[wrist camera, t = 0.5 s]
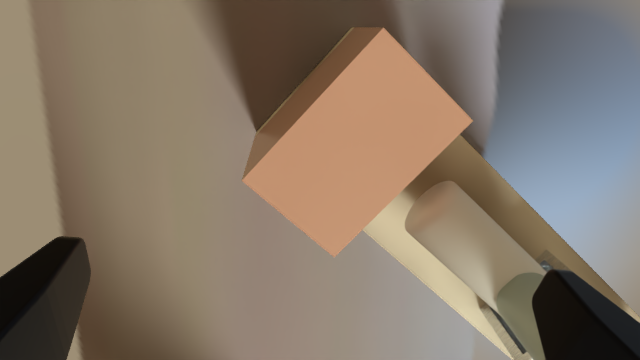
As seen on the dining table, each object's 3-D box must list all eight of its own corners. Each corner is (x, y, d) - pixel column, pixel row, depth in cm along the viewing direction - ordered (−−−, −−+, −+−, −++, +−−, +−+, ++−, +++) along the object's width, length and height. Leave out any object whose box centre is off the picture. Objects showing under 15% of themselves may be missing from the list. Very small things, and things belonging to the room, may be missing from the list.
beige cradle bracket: (572, 374, 28) (758, 601, 17) (398, 217, 24) (491, 378, 13) (616, 339, 27) (837, 551, 16) (444, 172, 23) (582, 301, 12)
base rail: (555, 393, 31) (564, 405, 30) (256, 132, 24) (254, 136, 23) (643, 323, 29) (655, 332, 28) (351, 27, 23) (354, 27, 22)
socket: (321, 194, 24) (334, 257, 18) (254, 136, 23) (241, 180, 17) (419, 93, 23) (473, 120, 16) (354, 27, 22) (383, 27, 15)
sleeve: (562, 382, 29) (616, 451, 24) (479, 308, 27) (520, 368, 22) (627, 329, 28) (696, 390, 24) (546, 249, 26) (603, 298, 21)
